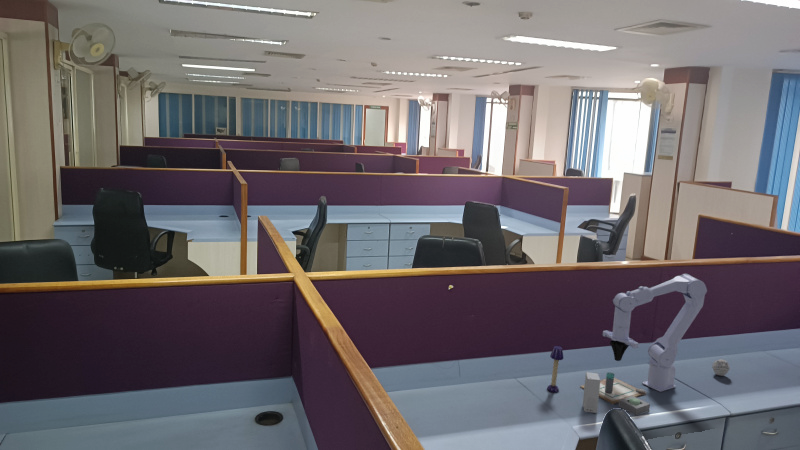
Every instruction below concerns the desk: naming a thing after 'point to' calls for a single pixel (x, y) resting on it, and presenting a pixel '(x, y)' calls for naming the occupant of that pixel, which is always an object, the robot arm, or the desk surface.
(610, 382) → the marker
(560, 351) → the toy lamp
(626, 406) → the button housing
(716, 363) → the grey lumpy rounded piece
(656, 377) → the robot arm
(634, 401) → the button
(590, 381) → the skincare box
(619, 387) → the framed board
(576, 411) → the desk surface
